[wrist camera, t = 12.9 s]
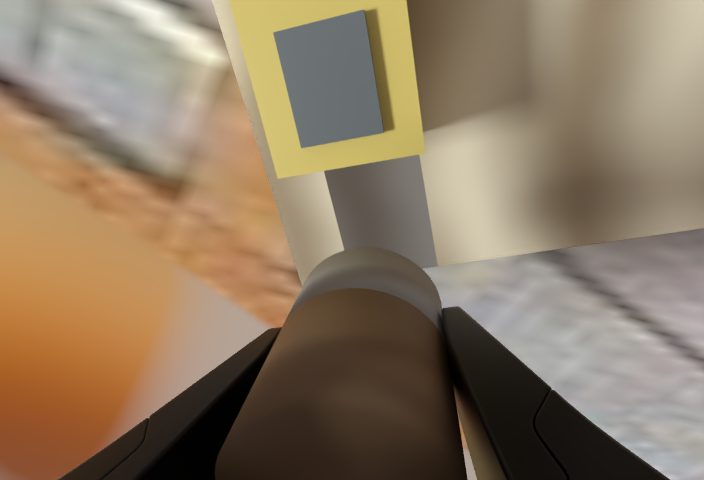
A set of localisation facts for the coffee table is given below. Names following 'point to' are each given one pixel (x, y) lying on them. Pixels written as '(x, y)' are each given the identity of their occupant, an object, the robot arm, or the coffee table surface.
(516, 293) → the coffee table surface
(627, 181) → the plywood panel
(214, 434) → the robot arm
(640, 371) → the coffee table surface
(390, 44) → the block
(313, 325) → the peg
